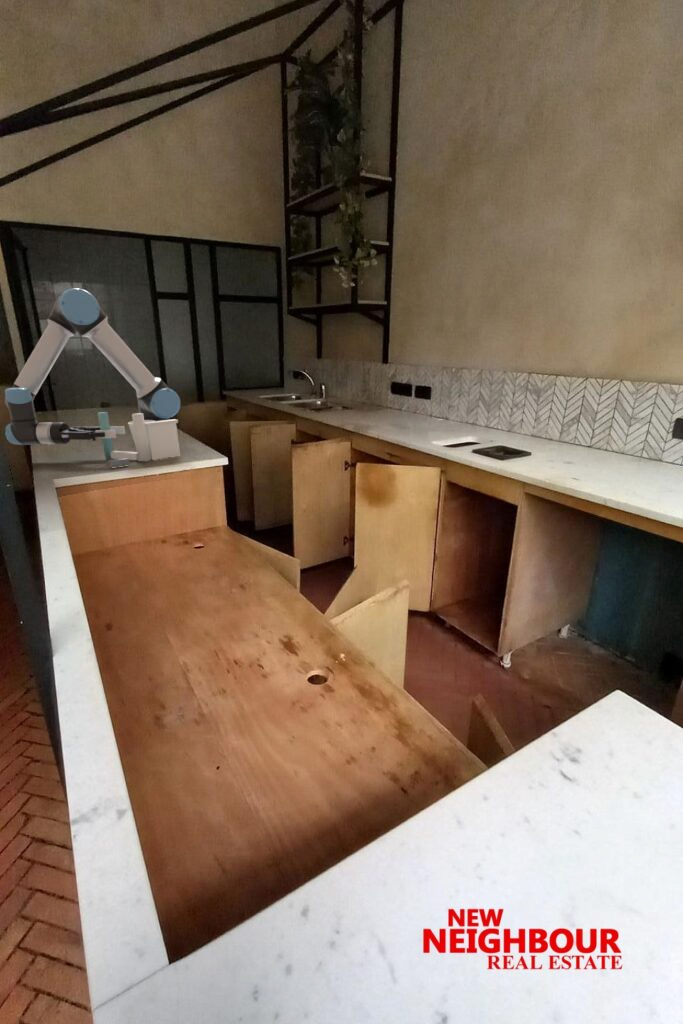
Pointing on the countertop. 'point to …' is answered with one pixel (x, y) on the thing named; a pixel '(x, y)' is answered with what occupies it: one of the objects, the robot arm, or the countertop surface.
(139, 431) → the gate
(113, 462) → the latch block
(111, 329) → the robot arm
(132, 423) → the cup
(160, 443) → the fence stub
